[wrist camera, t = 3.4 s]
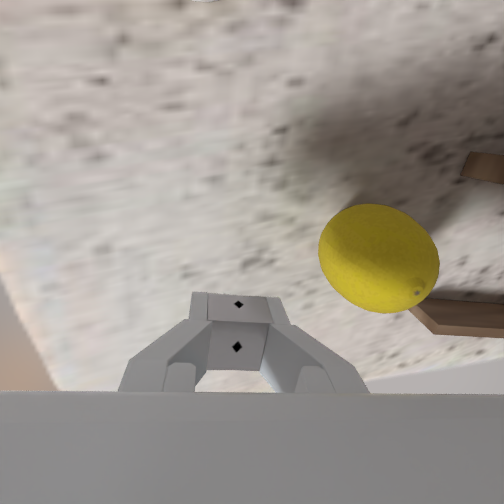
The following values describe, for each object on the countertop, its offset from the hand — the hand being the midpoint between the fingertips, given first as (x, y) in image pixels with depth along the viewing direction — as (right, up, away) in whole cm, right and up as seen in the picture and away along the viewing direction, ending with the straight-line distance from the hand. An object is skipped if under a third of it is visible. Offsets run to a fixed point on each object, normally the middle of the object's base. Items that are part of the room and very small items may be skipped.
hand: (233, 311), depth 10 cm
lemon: (+7, +4, +10) cm, 13 cm away
